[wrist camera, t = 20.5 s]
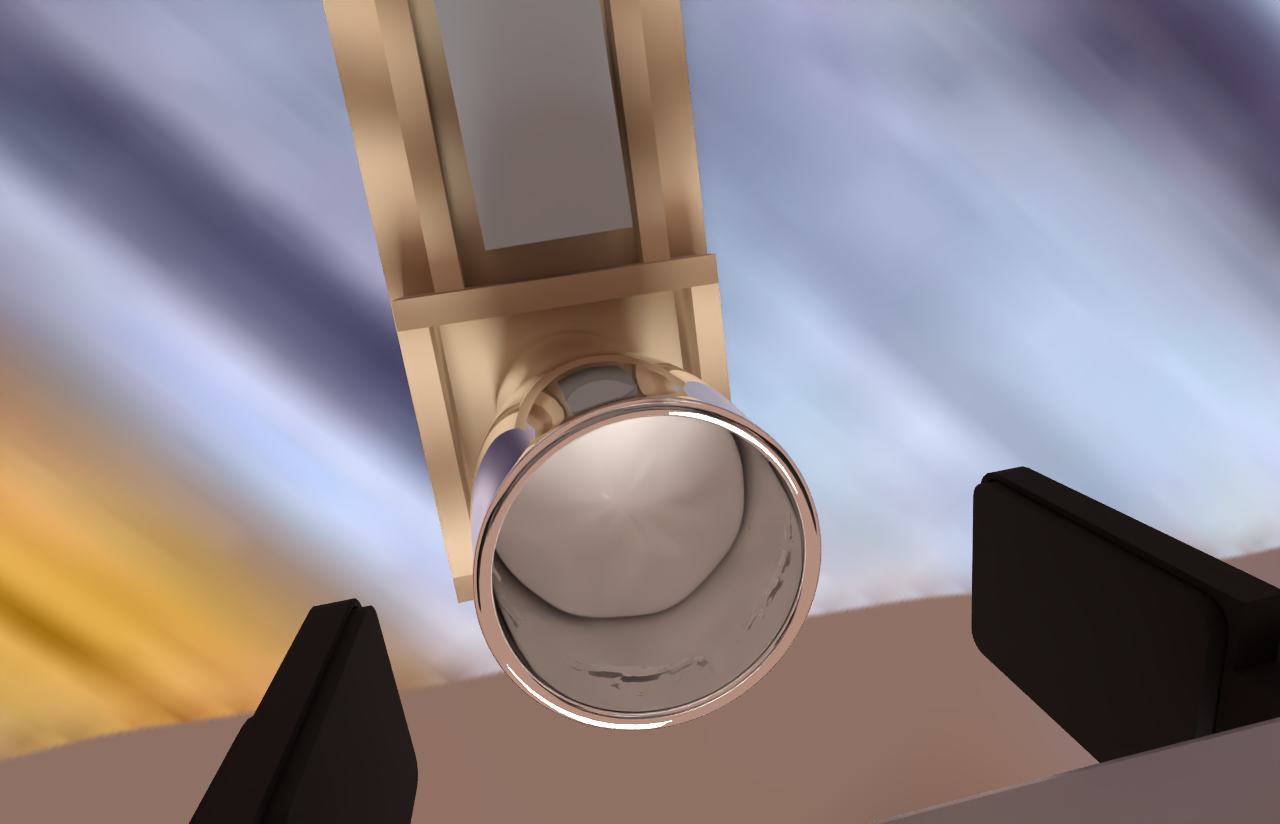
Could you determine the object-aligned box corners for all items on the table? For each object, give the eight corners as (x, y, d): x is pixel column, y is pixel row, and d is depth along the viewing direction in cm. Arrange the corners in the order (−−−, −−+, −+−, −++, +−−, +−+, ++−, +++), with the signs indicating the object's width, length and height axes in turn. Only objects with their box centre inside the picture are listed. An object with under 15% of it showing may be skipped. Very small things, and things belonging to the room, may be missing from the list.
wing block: (437, -7, 23) (418, -76, 18) (569, -21, 24) (584, -91, 19) (489, 250, 25) (485, 250, 20) (610, 231, 26) (632, 226, 21)
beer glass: (563, 527, 28) (627, 808, 13) (445, 399, 26) (370, 567, 11) (695, 417, 28) (897, 579, 13) (587, 282, 26) (689, 302, 12)
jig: (322, -29, 23) (285, -84, 19) (665, -55, 25) (693, -111, 21) (453, 558, 29) (444, 606, 25) (726, 503, 30) (757, 539, 27)
